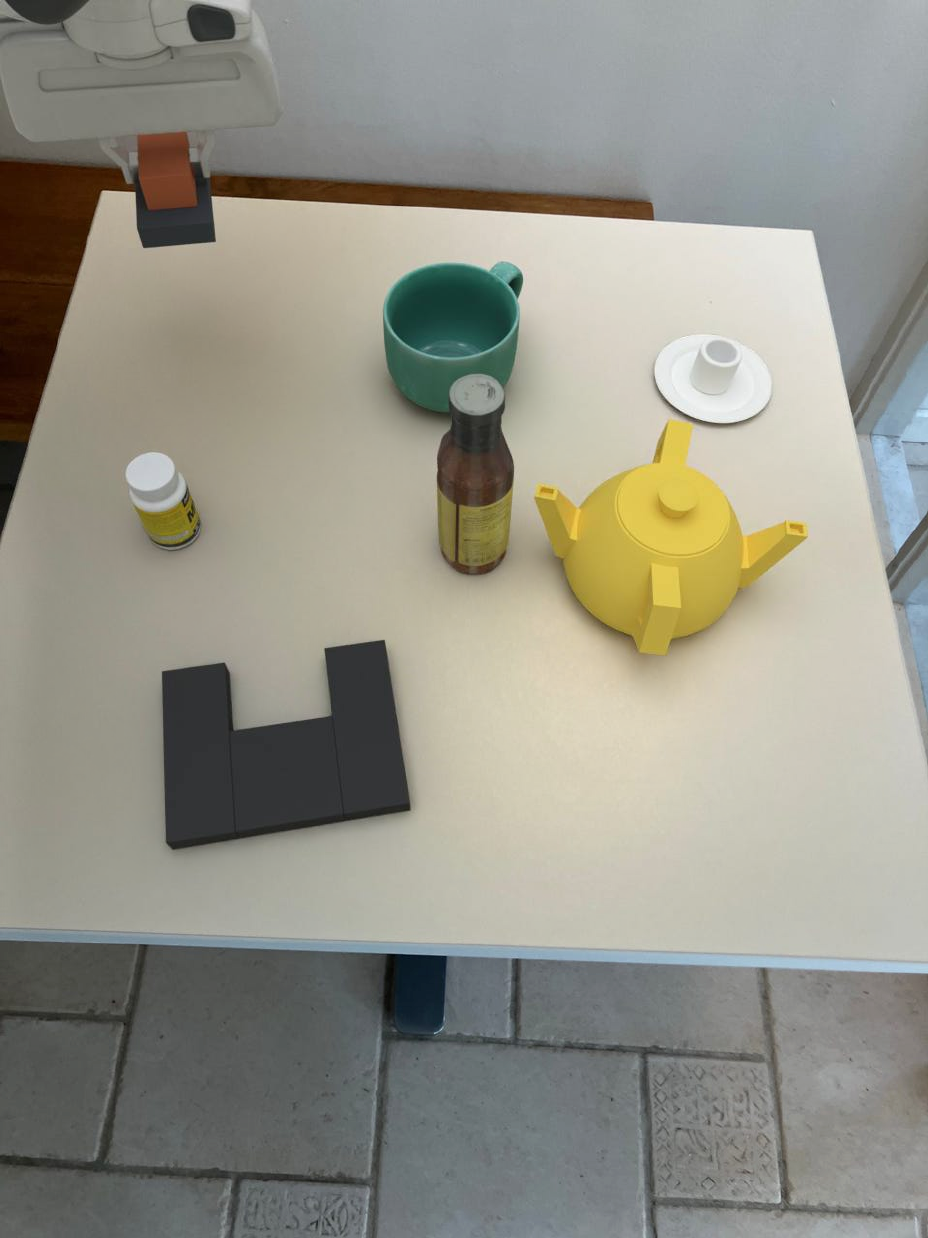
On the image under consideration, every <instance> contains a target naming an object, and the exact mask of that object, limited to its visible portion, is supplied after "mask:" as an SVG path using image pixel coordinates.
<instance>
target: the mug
mask: <svg viewBox="0 0 928 1238" xmlns="http://www.w3.org/2000/svg"><path fill="white" fill-rule="evenodd" d="M523 284H524V275H523V271H522V270H520V268H519V267H518V266H516V265H515V264H513V263H511V262H509V261H504V260H503V261H498V262H496V263H494V265H493V266H492V267H491V269H489V270H487V269H486V268H483V267H481V266H477V265H473V264H469V263H462V262H439V263H433V264H428V265H425V266H421V267H419V268H416V269H414V270H411V271H409V272H407V273H406V274H405V275H403V276H402V277H401V278H398V280H397V281H396V282H395V283H394V284H393V285H392V286H391V287H390V289H389V290H388V292H387V294H386V296H385V299H384V302H383V308H382V323H383V342H384V352H385V359H386V365H387V369H388V371H389V372H388V373H389V374H390V377H391V378H392V381H393V382H394V384H395V386H396V387H397V389H398V390H399V391H400V392H401V393H402V394H403V395H404V396H405V397H406V398H407V399H408V400H410V401H411V402H413V403H414V404H416V405H418V406H420V407H422V408H425V409H427V410H431V411H435V412H439V413H450V410H449V405H448V400H449V391H450V388H451V386H452V384H453V383H454V382H455V381H456V380H458V379H459V378H461V377H463V376H467V375H470V374H484V375H488V376H491V377H493V378H494V379H495V380H497V381H498V382H499V383H500V385H501V386H502V388H503V389H504V388H505V386H506V385H507V383H508V381H509V379H510V377H511V375H512V372H513V369H514V366H515V365H514V364H515V360H516V355H517V349H518V340H519V330H520V320H521V319H520V318H521V316H520V315H521V310H520V303H519V297H520V295H521V292H522V289H523ZM450 414H451V413H450Z"/></svg>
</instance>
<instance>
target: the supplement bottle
mask: <svg viewBox="0 0 928 1238" xmlns="http://www.w3.org/2000/svg"><path fill="white" fill-rule="evenodd" d="M125 480H126V482H127V485H128V495H129V498H130V501H131V503H132V505H133V507H134V509H135V511H136V513H137V515H138V517H139V520H140V521H141V524H142V525H143V527H144V530H145V532H146V534H147V535H148V538H149V540H150V541H151V542H152V543H153V544H154V545H155V546H156V547H158V548H160V549H163V550H167V551H168V550H170V551H175V550H180V549H183V548H185V547H188V546H190V545H191V544H192V543H193V542H194V541H196V539H197V538H198V537H199V535H200V533H201V529H202V522H201V518H200V514H199V513H198V510H197V508H196V505H195V502H194V500H193V497H192V494H191V492H190V489H189V487H188V484H187V481H186V478H184V476H183V475H182V473H181V472H180V471H178V469H177V466H176V465H175V463H174V461H173V459H172V458H171V457H169V456H168V455H166V454H164V453H162V452H158V451H157V452H156V451H155V452H153V451H152V452H145V453H142V454H140V455H137V456H136V457H135V458H133V459H132V460H131V461H130V462H129V463H128V464H127V466H126V469H125Z"/></svg>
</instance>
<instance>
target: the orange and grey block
mask: <svg viewBox="0 0 928 1238" xmlns="http://www.w3.org/2000/svg"><path fill="white" fill-rule="evenodd" d="M136 142H137V143H136V144H137V145H136V146H137V148H136V149H137V152H138V171H139V181H140V183H135V184H134V190H135V191H134V192H135V193H134V195H135V216H136V217H135V218H136V231H137V234H138V237H139V240H140V243H141V246H142V248H143V249H152V248H165V247H173V246H175V247H176V246H185V245H186V246H188V245H196V244H197V245H198V244H209V243H216V242H217V239H216V228H215V217H214V208H213V197H212V188H211V179H210V178H211V176H210V177H209V178H195V179H194V178H193V175H192V170H191V167H190V163H189V153H188V148H195V147H196V146H193V147H191V145H190V140H189V136H188V132H179V133H165V134H151V135H136Z"/></svg>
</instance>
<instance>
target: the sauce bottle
mask: <svg viewBox="0 0 928 1238" xmlns="http://www.w3.org/2000/svg"><path fill="white" fill-rule="evenodd" d="M448 405H449V410H450V414H451V419H450V420H451V423H450V429H448V430H447V431H446V432H445V433H444V434H443V436H442V438H441V439H440V444H439V447H438V450H437V455H436V465H437V466H436V467H437V470H436V503H437V529H438V543H439V546H440V551H441V555H442V556H443V558H444V560H445V561H446V562H447V563H448V564H449V565H450V566H451V567H453V568H454V569H455V570H456V571H458V572H461V573H464V574H471V575H472V574H484V573H487V572H490V571H491V570H494V569H495V568H496V567H497V566H498V565H499V564H500V563H501V562H502V560H504V558H505V555H506V553H507V547H508V545H509V542H510V531H511V518H512V508H513V507H512V506H513V493H514V482H515V481H514V480H515V462H514V458H513V455H512V452H511V451H510V448H509V446H508V442H507V441H506V438H505V434H504V432H503V429H502V423H503V421H502V417H503V414H504V413H505V410H506V393H505V390H504V387H503V388H502V386H501V385H500V383H499V382H498V381H497V380H495V379H494V378H493V377H491V376H488V375H484V374H470V375H467V376H463V377H461V378H459V379H458V380H456V381H455V382H454V383H453V384H452V386H451V388H450V391H449V400H448Z"/></svg>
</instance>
